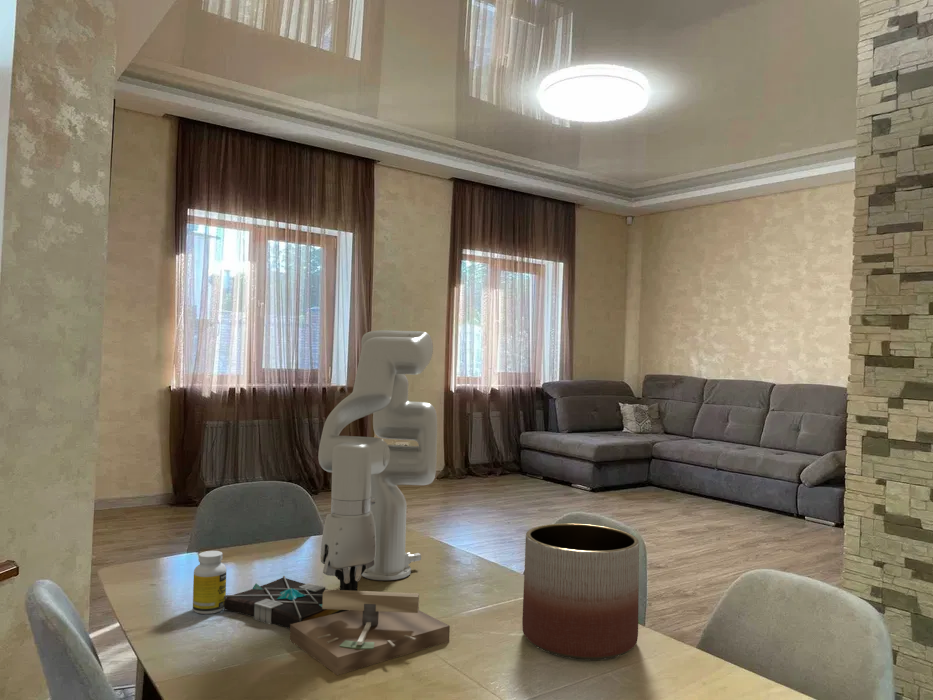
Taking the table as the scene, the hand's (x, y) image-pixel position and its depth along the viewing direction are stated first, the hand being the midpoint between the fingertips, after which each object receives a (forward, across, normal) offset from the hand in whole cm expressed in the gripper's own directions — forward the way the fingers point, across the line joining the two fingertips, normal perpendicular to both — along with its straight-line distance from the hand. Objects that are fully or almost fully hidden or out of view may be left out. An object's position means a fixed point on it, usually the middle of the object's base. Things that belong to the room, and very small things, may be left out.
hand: (348, 600), depth 138 cm
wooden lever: (+3, +1, +9) cm, 10 cm away
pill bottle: (+6, +17, -28) cm, 33 cm away
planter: (+6, -34, +29) cm, 45 cm away
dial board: (+6, -2, +6) cm, 9 cm away
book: (+7, +3, -18) cm, 19 cm away
